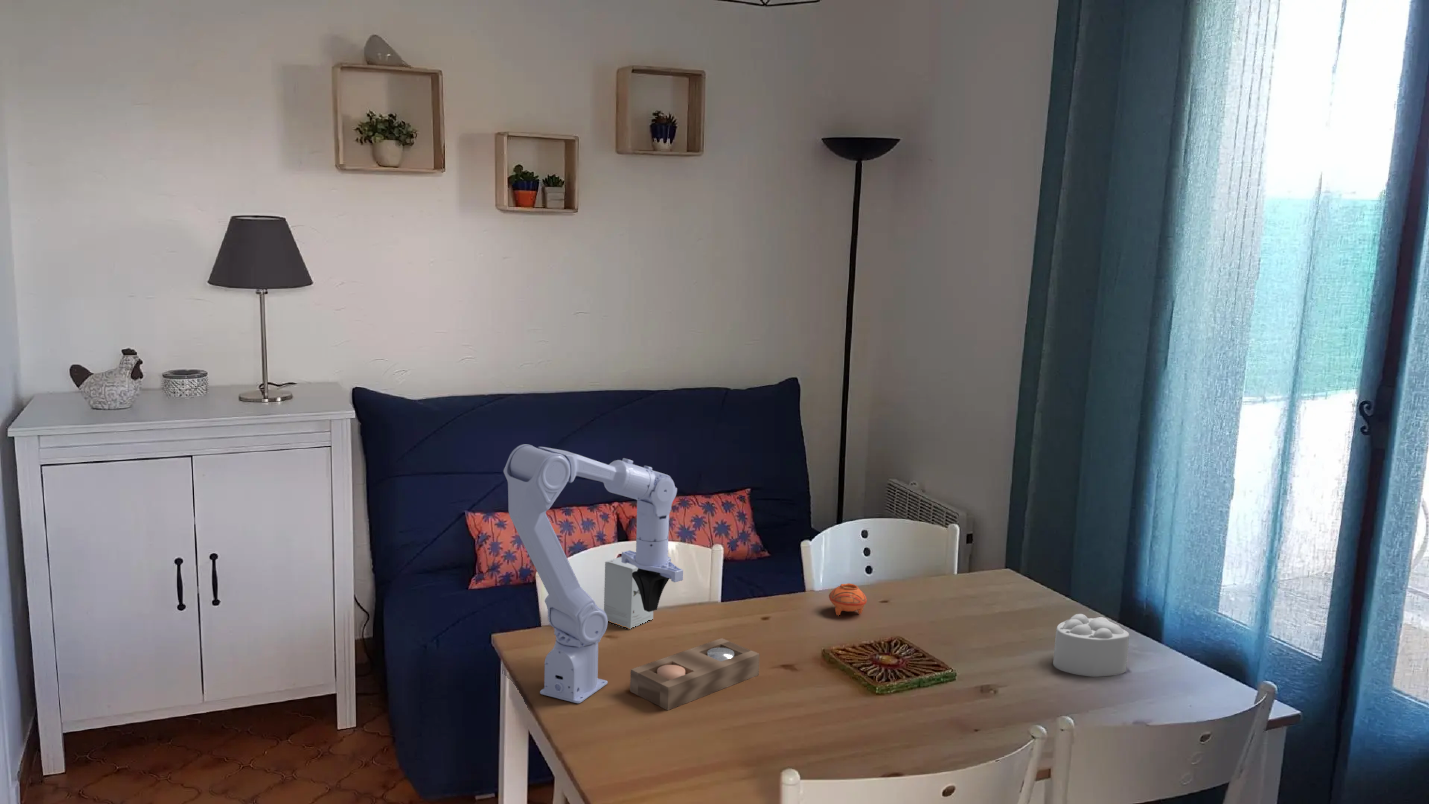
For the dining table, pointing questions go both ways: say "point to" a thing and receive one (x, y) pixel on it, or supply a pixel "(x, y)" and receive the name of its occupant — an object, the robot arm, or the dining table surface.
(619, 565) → the supplement box
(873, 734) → the dining table surface
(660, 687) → the wooden peg holder
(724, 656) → the far peg
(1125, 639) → the lumpy-topped squat cylinder
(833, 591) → the pot
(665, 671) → the near peg
